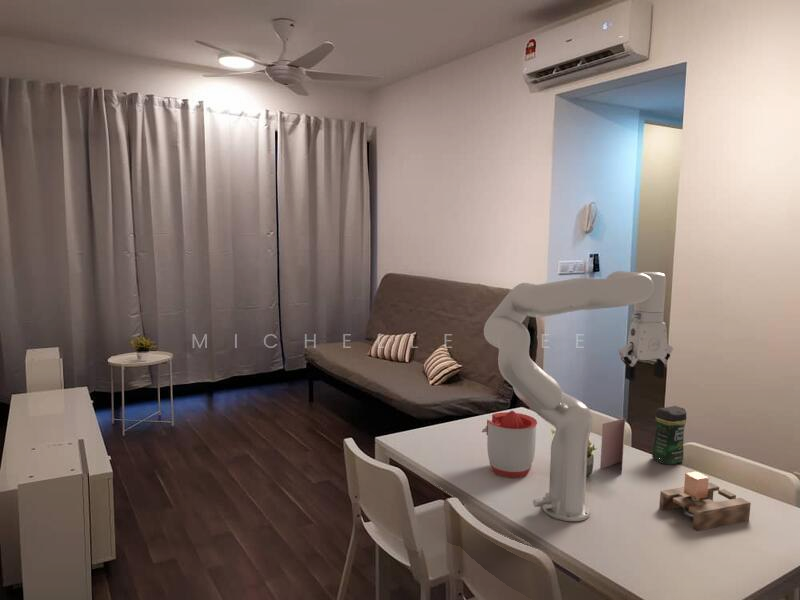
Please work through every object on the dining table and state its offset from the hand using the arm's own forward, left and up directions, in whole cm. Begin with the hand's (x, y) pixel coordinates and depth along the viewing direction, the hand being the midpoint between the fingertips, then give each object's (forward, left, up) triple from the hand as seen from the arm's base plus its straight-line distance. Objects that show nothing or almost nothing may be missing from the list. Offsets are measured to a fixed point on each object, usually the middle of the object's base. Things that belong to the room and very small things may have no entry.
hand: (644, 378), depth 161 cm
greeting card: (+12, +22, -36) cm, 44 cm away
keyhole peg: (+10, -11, -36) cm, 39 cm away
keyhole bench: (+13, -11, -36) cm, 40 cm away
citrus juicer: (-24, +31, -36) cm, 54 cm away
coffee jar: (+32, +22, -36) cm, 53 cm away
